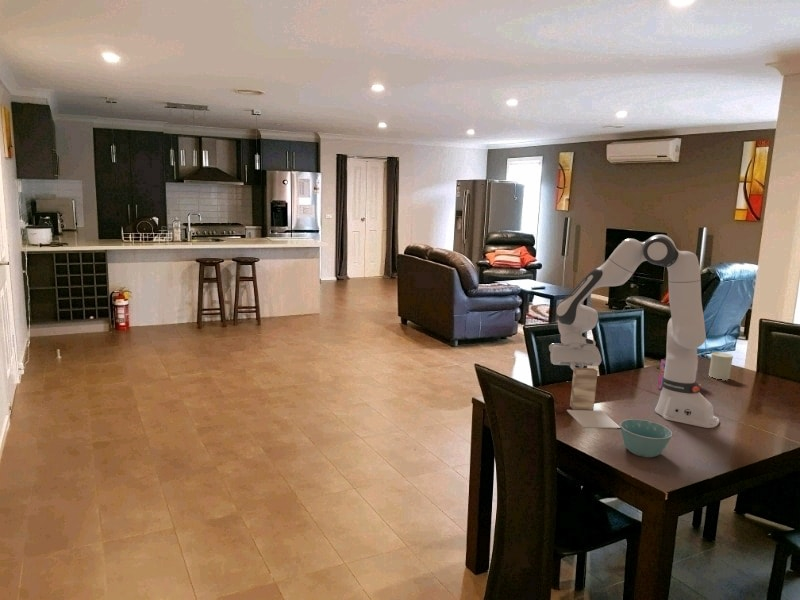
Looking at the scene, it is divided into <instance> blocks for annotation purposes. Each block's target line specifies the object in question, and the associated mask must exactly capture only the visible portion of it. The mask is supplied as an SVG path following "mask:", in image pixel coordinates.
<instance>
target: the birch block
mask: <svg viewBox="0 0 800 600" xmlns="http://www.w3.org/2000/svg"><path fill="white" fill-rule="evenodd" d="M572 371H573V370H572ZM597 379H598V370H597V369H596V368H594V367H583V368H581V367H580V368H579V367H576V368H574V371H573V374H572V379H571V380H572V381H571V390H570V391H571V392H570V400H569V407H570V408H571V410H594V407H595V400H596V399H595V398H596V390H597V383H598V382H597Z"/></svg>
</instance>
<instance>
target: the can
mask: <svg viewBox="0 0 800 600" xmlns="http://www.w3.org/2000/svg"><path fill="white" fill-rule="evenodd" d="M733 358H734V356H733V355H732V354H729V353H725V352H713V351H712V352H711V357H710V362H709V363H710V364H709V370H708V375H709V376H710V377H713V378H716V379H715V380H717V379H722V380H721V381H725V380H726V381H728V380H727V379H731V378H730V377H731V370H732V363H733ZM709 376H708V377H709ZM710 377H709V378H710ZM713 378H712V379H713Z"/></svg>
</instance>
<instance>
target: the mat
mask: <svg viewBox="0 0 800 600" xmlns="http://www.w3.org/2000/svg"><path fill="white" fill-rule="evenodd" d="M566 412H567V413H568V414H569V415H570V416H571V417H572V418H573V419H574V420H575V421H576V423H578V425H580V426H581V427H582V428H583V429H617V428H621V427H620V424H617V423H616V422H615V421H614V420H613V419H612V418H611V417H610V416H609V415H607V414H606V413H605V412H604V411H603V410H594V409H593V410H573V409H566Z"/></svg>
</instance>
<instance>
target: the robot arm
mask: <svg viewBox="0 0 800 600" xmlns="http://www.w3.org/2000/svg"><path fill="white" fill-rule="evenodd" d="M644 262H648V263H649V264H652V265H656V266H660V267H664V268H667V275H668V276H667V277H668V278H667V280H668V282H667V283H668V303H669V308H670V316H671V317H670V318H669V320H668V322H667V327H666V328H667V329H666V331H667V332H666V348H665V349H666V350H665V351H666V353H665V355H666V356H665V359H666V363H665V371H664V376H663V378H662V382H661V390H660V394H659V398H658V401H657V404H656V407H655V409H654V412H655V413H656V414H658V415H659V416H661V417H662V418H663V419H665V420H668V421H672V422H677V423H682V424H685V425H686V424H687V425H691V426H695V427H701V428H704V429H705V428H706V429H709V428H710V429H711V428H716V427H717V426H718V425H719V423H720V419H719V417H717V416H715V415H714V406H713V404H712V403H711V402H710V401H709V400H708V399H707V398H706V397H704V395H702V393H701V392H700V391H701V385H702V384H701V383H698V382H697V380H696V381H695V378H696V371H697V372H698V370H697V364H698V365H699V361H698V360H697V356H698V348H700V347H701V346H702V345H704V343H705V341H706V339H707V335H706V323H705V318H704V317H705V316H704V310H703V304H702V280H701V279H702V278H701V269H700V263H699V259H698V255H696V253H694V252H692V251H689V250H680V249H678V248H677V245H676V243H675V240H674V239H673V238H672V237H671V236H670V235H667V234H663V233H661V234H655V235H652V236H650V237H649V238H647V239H645V240H643V241H639V240H637V239H635V238H629V237H628V238H626V239H624V240H622V241H621V243H619V244H618V245H617V247H616V248H614V250H613V252H612V253H611V254H610V255H609V257H608V258H607V259H606V260H605V262H603V263H602V264H601V265H600V266H599V267H597V268H594V269H592V270H591V271H590V272H589V273H588V274H587V275H586V276H585V277H584V278H583V279H582V280H581V281H580V282H579V283H578V285H576V287H575V288H573V290H572V291H571V292H570V293H569V295H568V296H566V297H564V299H562V300H561V301H560V302H559V303H558V305H557V306H556V309H555V315H556V318H557V327H558V332H559V335H560V342H561V343H555V342H554V343H551V344H549V345H548V350H549V352H550V356H549V357H550V363H551V364H553V365H554V366H555V365H556V366H569V368H570V369H571V370H572V371H574V368H577V367H578V368H585V367H598V366H600V364H601V363H602V356H601V353H600V351H599V348H598V347H597V346H596V344H597V343H596V341H595V340H594V339H591V338H587V337H585V336H583V334H584V333H588V332H591V330H593V329H595V328H596V327H597V326H598V324H599V319H600V317H599V316H600V315H599V313H598V311H597V309H594V308H592V307H590V306H587V305H584V304H582V303H584V301H585V300H586V299H587V298H588V296H589V295H590V294H592V292H593V291H595V290H596V289H599V288H604V287H619V286H623V285H624V284H625V283H626V282H628V280H630V278H631V277H633V275H634V273H635V272H636V270H637V268H638V267H639V266H640V265H641V264H642V263H644ZM576 366H577V367H576Z"/></svg>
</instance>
